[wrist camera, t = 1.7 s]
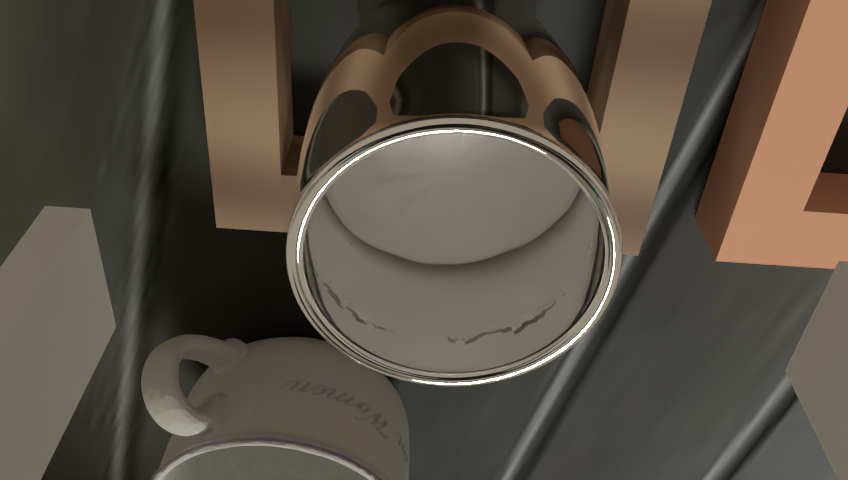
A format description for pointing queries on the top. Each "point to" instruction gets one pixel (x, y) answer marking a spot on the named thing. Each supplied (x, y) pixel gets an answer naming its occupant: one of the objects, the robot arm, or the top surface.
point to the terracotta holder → (783, 144)
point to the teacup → (274, 412)
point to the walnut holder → (280, 150)
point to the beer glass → (452, 196)
